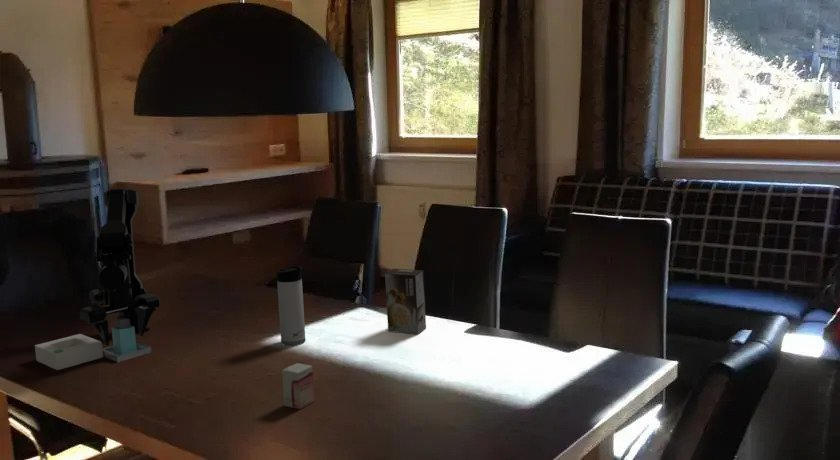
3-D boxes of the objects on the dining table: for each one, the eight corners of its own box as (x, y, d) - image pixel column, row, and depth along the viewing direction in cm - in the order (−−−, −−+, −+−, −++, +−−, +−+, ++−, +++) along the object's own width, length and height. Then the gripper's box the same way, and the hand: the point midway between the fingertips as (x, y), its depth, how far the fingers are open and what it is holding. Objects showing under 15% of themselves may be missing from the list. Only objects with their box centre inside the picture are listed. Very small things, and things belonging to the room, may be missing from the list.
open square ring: (133, 345, 202) (132, 340, 202) (151, 352, 196) (150, 346, 196) (99, 355, 195) (99, 349, 195) (117, 362, 190) (117, 356, 189)
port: (81, 348, 201) (80, 332, 201) (103, 357, 194) (101, 340, 193) (36, 360, 193) (34, 344, 192) (57, 370, 185) (55, 353, 185)
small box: (300, 410, 157) (297, 373, 156) (283, 406, 159) (281, 369, 158) (315, 401, 161) (313, 365, 160) (299, 397, 163) (296, 362, 162)
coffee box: (427, 327, 210) (425, 270, 207) (418, 334, 204) (416, 275, 201) (396, 325, 213) (394, 268, 210) (386, 331, 207) (384, 273, 204)
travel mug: (301, 346, 197) (297, 269, 194) (277, 345, 199) (272, 269, 195) (310, 338, 203) (305, 264, 200) (286, 338, 205) (281, 264, 201)
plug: (129, 350, 199) (125, 316, 197) (137, 353, 196) (133, 319, 194) (114, 354, 196) (110, 320, 194) (122, 357, 193) (118, 322, 192)
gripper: (136, 269, 205) (141, 326, 207) (66, 283, 191) (73, 344, 194) (158, 274, 197) (164, 333, 200) (87, 289, 184) (94, 352, 186)
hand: (124, 340), depth 195 cm, fingers open, 9 cm apart
